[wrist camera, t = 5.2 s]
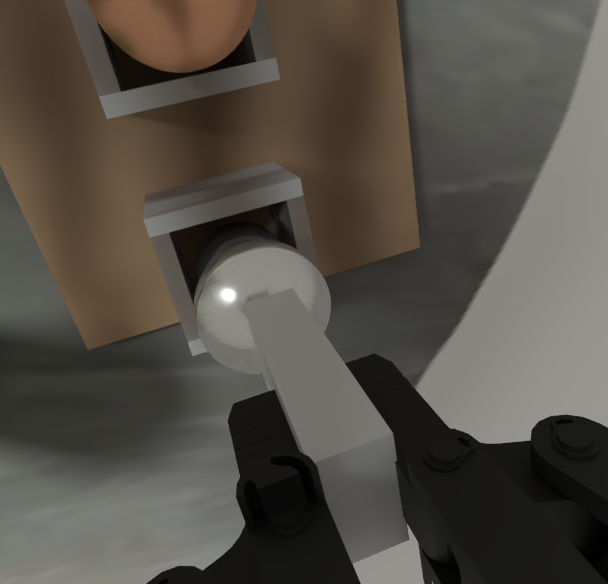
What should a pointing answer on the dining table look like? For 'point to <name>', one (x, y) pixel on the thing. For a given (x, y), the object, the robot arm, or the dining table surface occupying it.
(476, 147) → the dining table surface
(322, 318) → the offwhite plunger
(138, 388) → the dining table surface
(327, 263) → the panel
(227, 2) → the copper domed cylinder
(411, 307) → the dining table surface
